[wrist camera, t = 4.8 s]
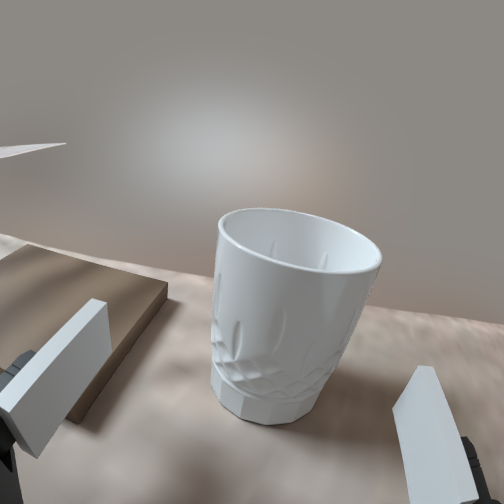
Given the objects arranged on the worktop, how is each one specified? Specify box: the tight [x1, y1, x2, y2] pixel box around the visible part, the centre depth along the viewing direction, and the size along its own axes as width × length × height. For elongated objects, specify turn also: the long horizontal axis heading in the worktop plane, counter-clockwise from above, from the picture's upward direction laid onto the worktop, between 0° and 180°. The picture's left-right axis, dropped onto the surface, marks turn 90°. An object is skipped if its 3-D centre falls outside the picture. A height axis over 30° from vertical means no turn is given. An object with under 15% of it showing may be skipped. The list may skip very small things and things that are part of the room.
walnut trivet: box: [0, 244, 168, 424], centre depth 20 cm, size 16×14×2 cm
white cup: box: [211, 208, 383, 425], centre depth 17 cm, size 8×8×10 cm
